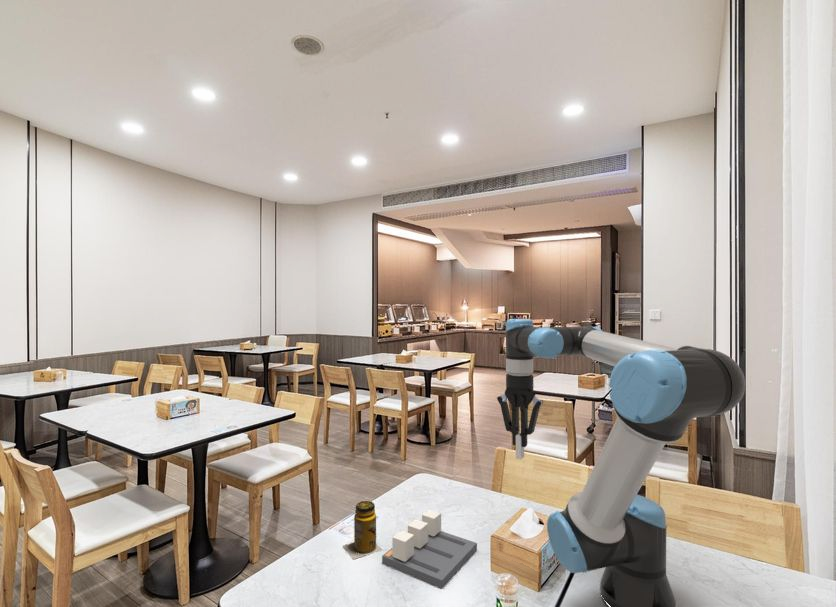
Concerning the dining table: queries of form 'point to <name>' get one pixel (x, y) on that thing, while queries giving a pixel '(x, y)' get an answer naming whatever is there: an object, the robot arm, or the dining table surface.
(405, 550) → the block
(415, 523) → the block
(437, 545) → the grey slotted panel board
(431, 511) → the block
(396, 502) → the dining table surface
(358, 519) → the condiment
